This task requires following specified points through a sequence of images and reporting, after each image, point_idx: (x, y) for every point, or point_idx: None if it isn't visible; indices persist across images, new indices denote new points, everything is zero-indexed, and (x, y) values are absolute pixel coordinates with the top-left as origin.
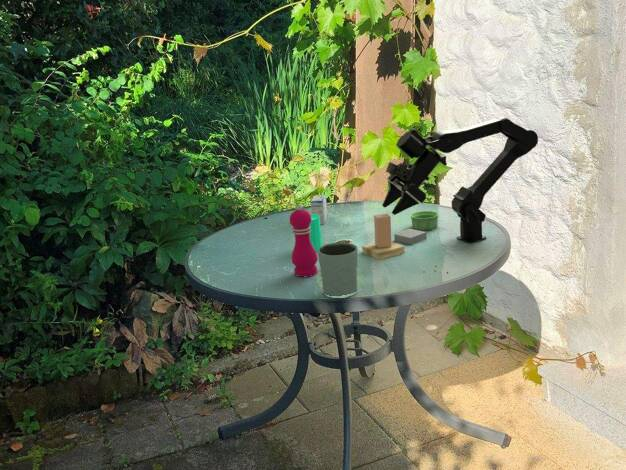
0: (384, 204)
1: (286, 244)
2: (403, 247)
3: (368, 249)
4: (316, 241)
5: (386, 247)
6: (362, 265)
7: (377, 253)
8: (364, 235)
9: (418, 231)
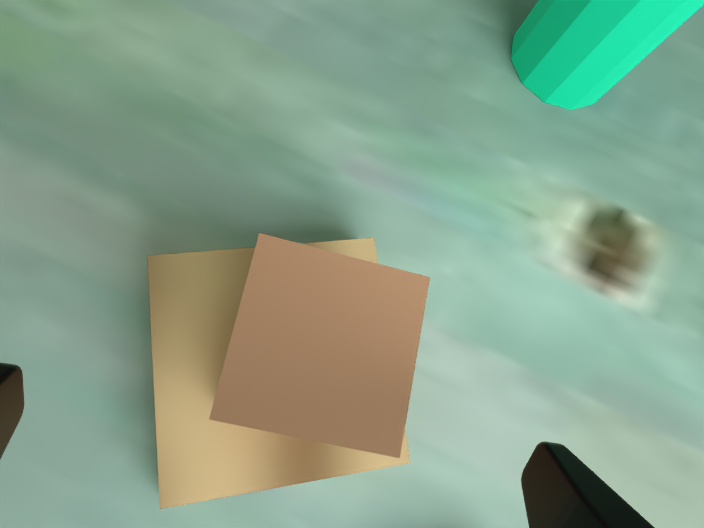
0: (546, 476)
1: None
2: (159, 497)
3: None
4: (545, 17)
5: None
6: (127, 138)
7: (162, 255)
8: (681, 417)
9: None
